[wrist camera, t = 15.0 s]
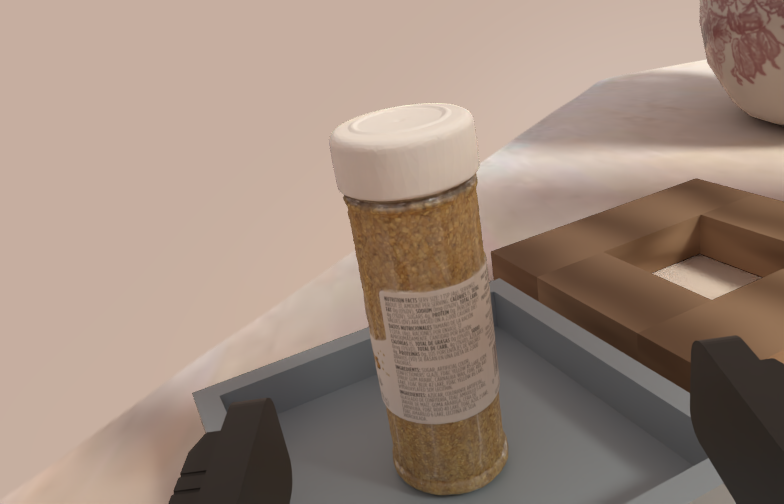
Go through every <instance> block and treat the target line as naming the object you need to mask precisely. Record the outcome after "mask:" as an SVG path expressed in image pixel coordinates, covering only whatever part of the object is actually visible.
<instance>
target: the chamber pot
mask: <svg viewBox="0 0 784 504" xmlns="http://www.w3.org/2000/svg"><path fill="white" fill-rule="evenodd" d="M700 26H701V31H702V37H703V42H704V47H705V52H706V58H707V63H708V64H709V66H710V68H711V69H712V71H713V72H714V74H715V75H716V77H717V78H718V80H719V81H720V83H721V85H722V86H723V88H724V89H725V91H726V92H727V94H728V95H729V97H730V98H731V100H732V101H733V102H734V103H735V104H736V105H737V106H738V107H739V108H740V109H741V110H743V111H744V112H746V113H747V114H748V115H750V116H751V117H755V118H758V119H761V120H765V121H768V122H771V123H775V124H778V125H782V126H784V0H700Z"/></svg>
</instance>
